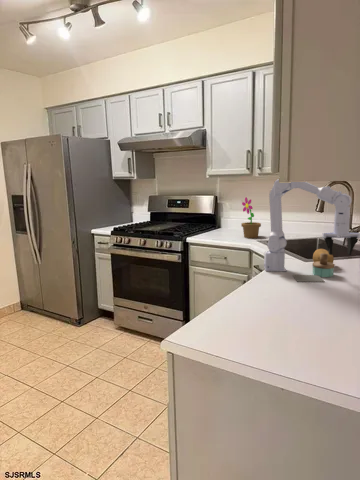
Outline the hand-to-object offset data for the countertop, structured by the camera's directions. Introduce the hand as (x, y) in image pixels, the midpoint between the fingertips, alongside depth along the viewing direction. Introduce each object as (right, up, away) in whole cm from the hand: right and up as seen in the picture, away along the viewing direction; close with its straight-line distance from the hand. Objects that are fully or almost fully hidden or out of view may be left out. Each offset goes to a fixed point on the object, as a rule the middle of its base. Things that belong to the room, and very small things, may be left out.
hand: (339, 254), depth 139 cm
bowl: (-4, -9, +7) cm, 13 cm away
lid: (-4, -5, +6) cm, 9 cm away
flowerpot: (-15, +8, +105) cm, 107 cm away
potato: (+2, -7, +21) cm, 22 cm away
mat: (-13, -11, +2) cm, 17 cm away
